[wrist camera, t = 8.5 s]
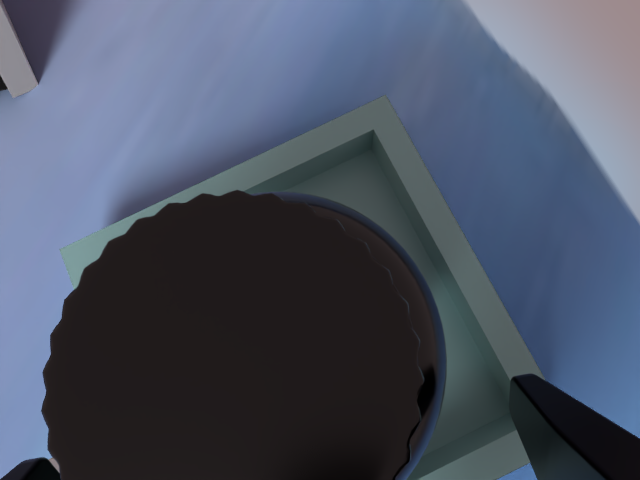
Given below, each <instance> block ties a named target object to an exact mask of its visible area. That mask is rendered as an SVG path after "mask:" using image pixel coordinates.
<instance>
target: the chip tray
mask: <svg viewBox="0 0 640 480" xmlns="http://www.w3.org/2000/svg"><path fill="white" fill-rule="evenodd" d="M235 190H240V191H243V192H246V193H248V194H254V193H261V192H277V191H281V192H297V193H304V194H311V195H315V196H319V197H323V198H327V199H330V200H332V201H335V202H338V203H341V204H343V205H345V206H348V207H350V208H352V209H354V210H356V211H358V212H359V213H361V214H363V215H365V216H366V217H368V218H370V219H371V220H372V221H374V222H375V223H376V224H378V225H379V226H381V227H382V228H383V229H384V230H385V231H387V232H388V233H389V234H390V235H391V236H392V237H393V238H394V239H395V240H396V241H397V242H398V243H399V244H400V245H401V246H402V247H403V248H404V249H405V250H406V252H407V253H408V254H409V256H410V257H411V258H412V259H413V261H414V262H415V263H416V265H417V267H418V268H419V270H420V271H421V273H422V275H423V276H424V278H425V280H426V282H427V284H428V286H429V288H430V290H431V292H432V294H433V297H434V299H435V302H436V305H437V307H438V311H439V314H440V318H441V321H442V325H443V331H444V336H445V342H446V355H447V377H446V386H445V394H444V399H443V404H442V408H441V413H440V416H439V419H438V422H437V425H436V428H435V431H434V433H433V435H432V438H431V440H430V442H429V445H428V447H427V448H426V450H425V452H424V454H423V456H422V457H421V459H420V461H419V463H418V464H417V465H416V467H415V468H414V470H413V471H412V473H411V474H410V475H409V477H408V478H407V479H406V480H496V479H498V478H500V477H502V476H504V475H506V474H508V473H510V472H512V471H514V470H516V469H518V468H520V467H522V466H524V465H526V464H528V463H530V460H529V458H528V456H527V453H526V451H525V449H524V446H523V444H522V441H521V439H520V437H519V434H518V432H517V430H516V427H515V425H514V423H513V420H512V418H511V414H510V410H509V392H510V381H511V378H512V377H513V376H517V375H523V374H528V373H533V374H535V375H537V376H539V377H540V378H542V379H544V380H545V378H544V376H543V375H542V373H541V371H540V369H539V367H538V366H537V364H536V362H535V360H534V359H533V357H532V355H531V353H530V351H529V350H528V348H527V346H526V344H525V342H524V341H523V339H522V337H521V335H520V333H519V332H518V330H517V328H516V326H515V325H514V323H513V321H512V319H511V317H510V316H509V314H508V312H507V310H506V308H505V307H504V305H503V303H502V301H501V300H500V298H499V296H498V294H497V292H496V291H495V289H494V287H493V285H492V283H491V282H490V280H489V278H488V276H487V275H486V273H485V271H484V269H483V267H482V266H481V264H480V262H479V260H478V258H477V257H476V255H475V253H474V251H473V250H472V248H471V246H470V244H469V242H468V241H467V239H466V237H465V235H464V233H463V232H462V230H461V228H460V226H459V225H458V223H457V221H456V219H455V217H454V216H453V214H452V212H451V210H450V208H449V207H448V205H447V203H446V201H445V200H444V198H443V196H442V194H441V192H440V191H439V189H438V187H437V185H436V183H435V182H434V180H433V178H432V176H431V174H430V173H429V171H428V169H427V167H426V166H425V164H424V162H423V160H422V158H421V157H420V155H419V153H418V151H417V149H416V148H415V146H414V144H413V142H412V141H411V139H410V137H409V135H408V133H407V132H406V130H405V128H404V126H403V124H402V123H401V121H400V119H399V117H398V116H397V114H396V112H395V110H394V108H393V107H392V105H391V103H390V101H389V99H388V98H387V96H386V95H384V96H382V97H380V98H378V99H376V100H373V101H371V102H369V103H367V104H365V105H363V106H361V107H359V108H357V109H354V110H352V111H350V112H348V113H346V114H344V115H342V116H340V117H338V118H335V119H333V120H331V121H329V122H327V123H325V124H323V125H321V126H319V127H317V128H314V129H312V130H310V131H308V132H306V133H304V134H302V135H300V136H298V137H295V138H293V139H291V140H289V141H287V142H285V143H283V144H281V145H279V146H276V147H274V148H272V149H270V150H268V151H266V152H264V153H262V154H260V155H257V156H255V157H253V158H251V159H249V160H247V161H245V162H243V163H241V164H238V165H236V166H234V167H232V168H230V169H228V170H226V171H224V172H222V173H219V174H217V175H215V176H213V177H211V178H209V179H207V180H205V181H203V182H201V183H198V184H196V185H194V186H192V187H190V188H188V189H186V190H184V191H182V192H179V193H177V194H175V195H173V196H171V197H169V198H167V199H165V200H163V201H160V202H158V203H156V204H154V205H152V206H150V207H148V208H146V209H144V210H141V211H139V212H137V213H135V214H133V215H131V216H129V217H127V218H125V219H122V220H120V221H118V222H116V223H114V224H112V225H110V226H108V227H106V228H104V229H101V230H99V231H97V232H95V233H93V234H91V235H89V236H87V237H85V238H82V239H80V240H78V241H76V242H74V243H72V244H70V245H68V246H66V247H63V248H61V249H60V252H61V255H62V258H63V260H64V263H65V266H66V269H67V271H68V274H69V277H70V280H71V282H72V285H73V288H74V290H75V289H76V288H77V287H78V284H79V281H80V277H81V275H82V272H83V270H84V268H85V267H87V266H88V265H89V264H90V263H92V262H94V261H96V260H97V259H98V258H99V257H100V255H101V253H102V251H103V249H104V248H105V246H106V244H107V243H108V241H110V240H112V239H114V238H116V237H118V236H121V235H123V234H125V233H126V232H127V231H128V229H129V228H130V227H131V225H132V224H133V223H134V222H135V221H136V220H137V219H140V218H143V217H150V216H154V215H155V214H156V213H157V212H159V211H160V210H161V209H162V208H163V207H164V206H166V205H167V204H168V203H176V202H178V203H186V202H188V201H190V200H191V199H193V198H194V197H196V196H198V195H200V194H202V193H206V194H212V195H215V196H221V195H223V194H226V193H228V192H231V191H235ZM545 381H546V380H545Z"/></svg>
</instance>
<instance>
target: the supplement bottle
mask: <svg viewBox="0 0 640 480" xmlns="http://www.w3.org/2000/svg"><path fill="white" fill-rule="evenodd" d="M50 347H51V355H50V358H49V360H48V361H47V363H46V365H45V368H44V370H43V378H44V383H45V387H46V396H45V399H44V401H43V405H42V410H41V412H42V414H43V417H44V420H45V422H46V424H47V426H48V428H49V432H48V451H49V452H50V454H51V456H52V457H53V458H54V459H55V460H56V462H57V463H58V465H59V472H60V480H406V479H407V478H408V477H409V475H410V474H411V473H412V471H413V470H414V468H415V467H416V465H417V464H418V463H419V461H420V459H421V457H422V456H423V454H424V452H425V450H426V448H427V447H428V445H429V442H430V440H431V438H432V435H433V433H434V431H435V428H436V425H437V422H438V419H439V416H440V413H441V408H442V404H443V399H444V394H445V386H446V377H447V355H446V342H445V336H444V331H443V325H442V321H441V318H440V314H439V311H438V307H437V305H436V302H435V299H434V297H433V294H432V292H431V290H430V288H429V286H428V284H427V282H426V280H425V278H424V276H423V275H422V273H421V271H420V270H419V268H418V267H417V265H416V263H415V262H414V261H413V259H412V258H411V257H410V256H409V254H408V253H407V252H406V250H405V249H404V248H403V247H402V246H401V245H400V244H399V243H398V242H397V241H396V240H395V239H394V238H393V237H392V236H391V235H390V234H389V233H388V232H387V231H385V230H384V229H383V228H382V227H381V226H379V225H378V224H376V223H375V222H374V221H372V220H371V219H370V218H368V217H366V216H365V215H363V214H361V213H359V212H358V211H356V210H354V209H352V208H350V207H348V206H345V205H343V204H341V203H338V202H335V201H332V200H330V199H327V198H323V197H319V196H315V195H311V194H304V193H297V192H281V191H277V192H261V193H254V194H248V193H246V192H243V191H240V190H235V191H231V192H228V193H226V194H223V195H221V196H215V195H212V194H206V193H202V194H200V195H198V196H196V197H194V198H193V199H191V200H190V201H188V202H186V203H178V202H176V203H168V204H167V205H166V206H164V207H163V208H162V209H161V210H160V211H159V212H157V213H156V214H155V215H154V216H150V217H143V218H140V219H137V220H136V221H135V222H134V223H133V224H132V225H131V227H130V228H129V229H128V231H127V232H126V233H125V234H123V235H121V236H118V237H116V238H114V239H112V240H110V241H108V243H107V244H106V246H105V248H104V249H103V251H102V253H101V255H100V257H99V258H98V259H97V260H96V261H94V262H92V263H90V264H89V265H88V266H87V267H85V268H84V270H83V272H82V275H81V277H80V281H79V284H78V287H77V288H76V289H75V290H73V291H72V292H71V293H70V294H69V295H68V297H67V298H66V299H65V300H64V305H63V310H62V319H61V321H60V322H59V324H58V325H57V326H56V327H55V329H54V330H53V332H52V333H51V335H50Z"/></svg>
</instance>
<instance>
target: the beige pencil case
mask: <svg viewBox="0 0 640 480" xmlns="http://www.w3.org/2000/svg"><path fill="white" fill-rule="evenodd" d="M37 85H38V82H37V79H36V77H35V75H34V73H33V70H32V68H31V66H30V63H29V61H28V59H27V57H26V54H25V52H24V50H23V47H22V45H21V43H20V41H19V38H18V36H17V34H16V31H15V29H14V27H13V24H12V22H11V20H10V18H9V15H8V13H7V11H6V8H5V6H4V4H3V2H2V0H0V91H1V90H6V89H8V90H9V92H10V93H11V95H12V97H13V98H15V97H17V96H20V95H22V94H24V93H27V92H29V91H31V90H32V89H34V88H35V87H36V86H37Z"/></svg>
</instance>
